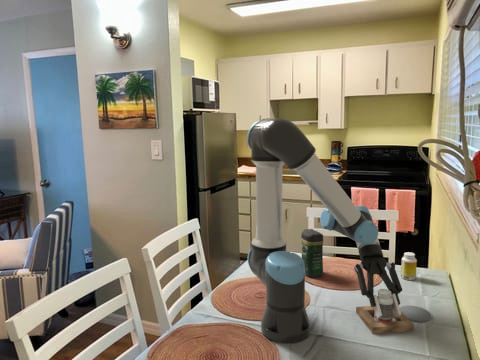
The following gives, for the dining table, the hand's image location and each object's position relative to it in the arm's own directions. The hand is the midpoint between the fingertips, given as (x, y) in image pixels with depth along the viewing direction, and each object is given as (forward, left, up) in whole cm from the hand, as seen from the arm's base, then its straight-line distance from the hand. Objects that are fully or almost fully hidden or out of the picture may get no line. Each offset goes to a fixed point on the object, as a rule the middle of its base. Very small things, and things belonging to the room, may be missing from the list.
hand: (389, 316), depth 119 cm
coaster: (+12, +7, -4) cm, 14 cm away
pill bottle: (0, +4, -4) cm, 5 cm away
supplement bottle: (+25, +35, -4) cm, 43 cm away
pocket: (0, +4, -4) cm, 5 cm away
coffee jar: (-12, +45, -4) cm, 46 cm away
